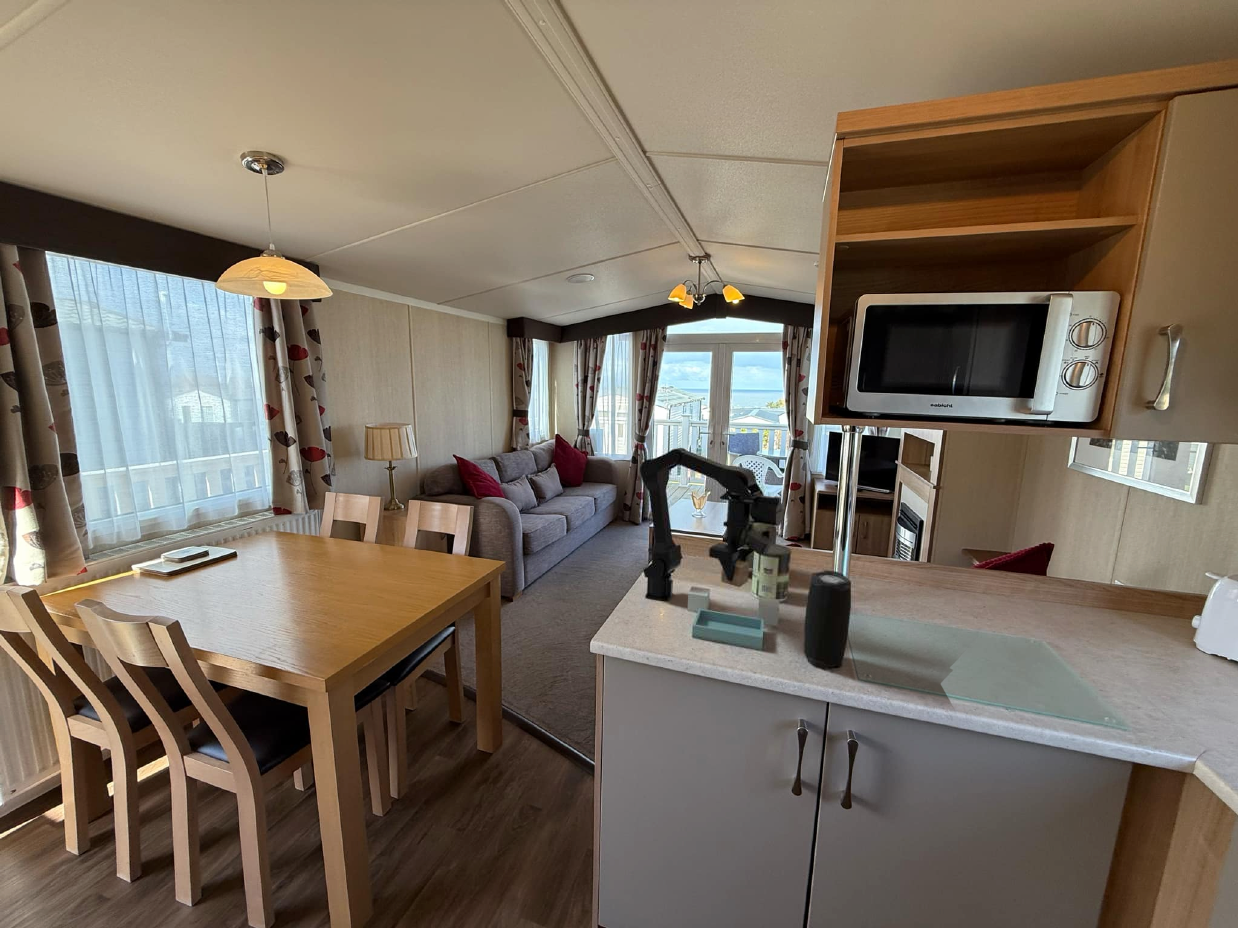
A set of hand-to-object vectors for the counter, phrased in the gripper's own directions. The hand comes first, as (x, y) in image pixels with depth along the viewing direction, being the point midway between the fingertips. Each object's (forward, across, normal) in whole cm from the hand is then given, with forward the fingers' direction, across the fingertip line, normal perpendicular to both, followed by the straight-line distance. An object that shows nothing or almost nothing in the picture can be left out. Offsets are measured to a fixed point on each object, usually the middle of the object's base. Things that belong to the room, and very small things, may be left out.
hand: (734, 577), depth 124 cm
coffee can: (+11, +22, -1) cm, 24 cm away
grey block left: (+11, -1, +10) cm, 15 cm away
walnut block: (+1, 0, 0) cm, 1 cm away
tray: (+11, -8, -3) cm, 14 cm away
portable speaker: (+11, -5, -24) cm, 27 cm away
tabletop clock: (+11, +34, +10) cm, 37 cm away
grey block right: (+11, +6, -7) cm, 15 cm away
